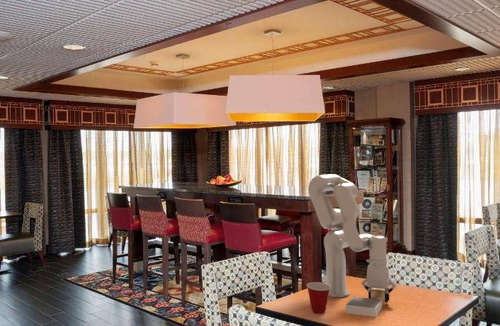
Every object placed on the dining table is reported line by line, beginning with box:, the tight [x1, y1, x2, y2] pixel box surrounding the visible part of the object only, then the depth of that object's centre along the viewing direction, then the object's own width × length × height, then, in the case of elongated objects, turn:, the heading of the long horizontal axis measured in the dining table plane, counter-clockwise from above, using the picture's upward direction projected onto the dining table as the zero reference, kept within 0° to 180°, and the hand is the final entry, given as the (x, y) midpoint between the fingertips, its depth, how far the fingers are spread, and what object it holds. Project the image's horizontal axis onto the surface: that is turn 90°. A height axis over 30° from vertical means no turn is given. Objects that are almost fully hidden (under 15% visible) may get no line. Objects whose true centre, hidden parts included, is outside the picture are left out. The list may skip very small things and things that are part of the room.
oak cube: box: [371, 288, 386, 306], centre depth 224 cm, size 6×6×6 cm
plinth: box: [344, 296, 383, 318], centre depth 213 cm, size 13×13×4 cm
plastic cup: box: [306, 281, 331, 315], centre depth 212 cm, size 11×11×12 cm
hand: (378, 300), depth 224 cm, fingers open, 6 cm apart
